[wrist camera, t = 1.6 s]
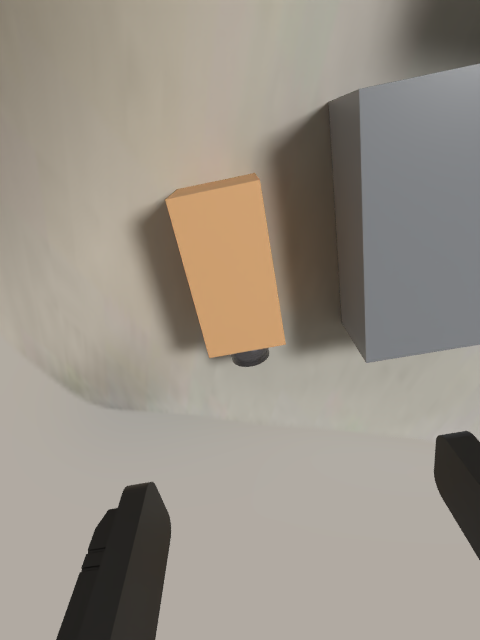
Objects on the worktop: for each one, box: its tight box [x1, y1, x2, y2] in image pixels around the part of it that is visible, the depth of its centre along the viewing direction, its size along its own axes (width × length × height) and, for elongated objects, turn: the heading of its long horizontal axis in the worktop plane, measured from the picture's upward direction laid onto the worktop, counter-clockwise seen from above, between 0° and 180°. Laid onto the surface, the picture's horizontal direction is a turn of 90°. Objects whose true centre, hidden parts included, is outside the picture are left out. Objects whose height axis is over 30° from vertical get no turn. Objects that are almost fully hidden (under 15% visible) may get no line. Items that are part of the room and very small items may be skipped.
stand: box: [329, 64, 480, 363], centre depth 23 cm, size 16×14×6 cm
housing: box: [165, 173, 286, 367], centre depth 25 cm, size 13×6×5 cm, turn 11°
